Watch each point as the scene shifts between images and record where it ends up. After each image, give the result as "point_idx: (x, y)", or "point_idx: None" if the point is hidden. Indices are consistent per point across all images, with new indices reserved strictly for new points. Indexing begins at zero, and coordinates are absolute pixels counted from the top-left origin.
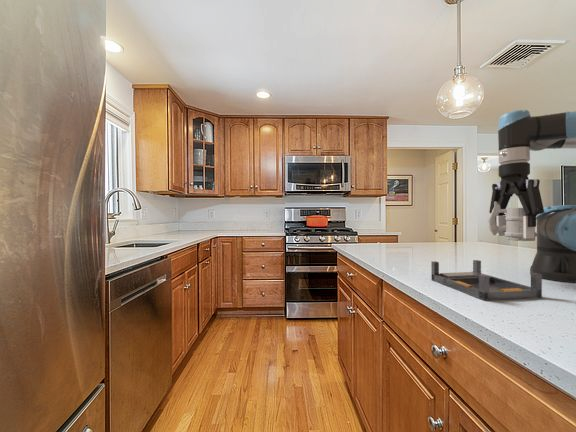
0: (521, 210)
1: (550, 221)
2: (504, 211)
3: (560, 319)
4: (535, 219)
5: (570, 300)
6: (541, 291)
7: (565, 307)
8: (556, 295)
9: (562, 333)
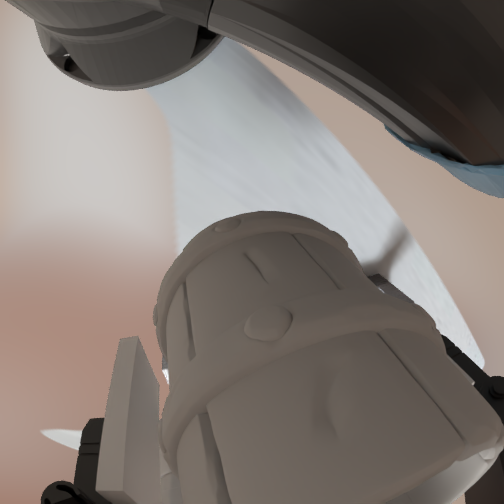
0: (430, 491)
1: (332, 6)
2: None
3: (450, 317)
4: (472, 367)
5: (401, 222)
6: (387, 281)
7: (426, 271)
8: (367, 220)
9: (467, 340)
